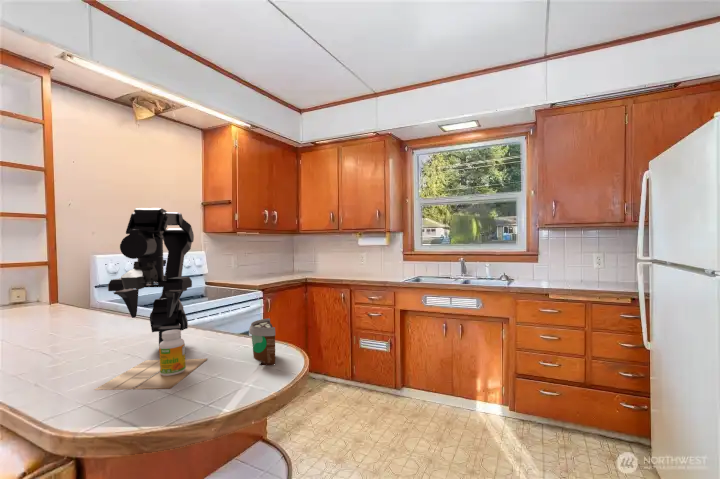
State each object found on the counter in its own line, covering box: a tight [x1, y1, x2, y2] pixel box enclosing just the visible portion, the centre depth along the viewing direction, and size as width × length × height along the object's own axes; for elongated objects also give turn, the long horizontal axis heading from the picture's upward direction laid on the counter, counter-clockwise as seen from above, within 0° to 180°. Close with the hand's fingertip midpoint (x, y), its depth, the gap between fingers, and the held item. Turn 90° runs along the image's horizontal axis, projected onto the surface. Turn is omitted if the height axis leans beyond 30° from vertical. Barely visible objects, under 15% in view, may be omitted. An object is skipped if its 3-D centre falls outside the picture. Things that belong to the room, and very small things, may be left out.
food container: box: [248, 318, 276, 366], centre depth 95 cm, size 12×6×10 cm, turn 21°
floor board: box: [93, 359, 160, 391], centre depth 84 cm, size 18×8×1 cm, turn 0°
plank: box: [132, 358, 208, 390], centre depth 84 cm, size 18×8×1 cm, turn 0°
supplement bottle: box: [158, 329, 186, 376], centre depth 84 cm, size 5×5×10 cm
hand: (151, 317), depth 91 cm, fingers open, 9 cm apart
